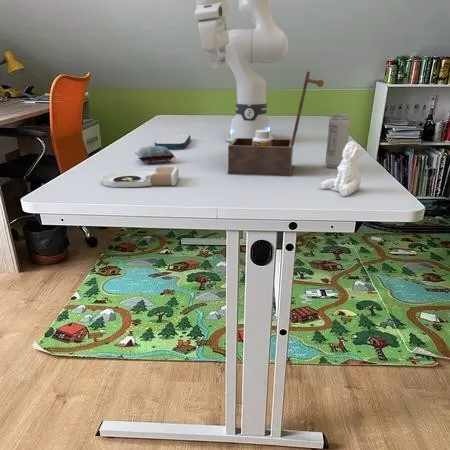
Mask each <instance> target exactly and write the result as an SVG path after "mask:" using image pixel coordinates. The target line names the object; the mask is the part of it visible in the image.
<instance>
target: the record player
mask: <svg viewBox="0 0 450 450" xmlns="http://www.w3.org/2000/svg"><path fill="white" fill-rule="evenodd" d="M179 178H180V172H179V167H178V166H164V167H163V166H159V167H156V168H155V171H147V170H146V171H139V170H137V171H118V172H117V171H116V172H112V173H108V174H105V175H103V176H102V179H101V180H102V184H103V185H104V186H107V187H112V188H113V187H114V188H140V187H142V188H143V187H149V186H150V187H151V186H152V187H153V186H154V187H159V186H160V187H162V186H163V187H164V186H167V187H168V186H172V187H173V186H176V184H177V183H178V181H179Z"/></svg>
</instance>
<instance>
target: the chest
mask: <svg viewBox="0 0 450 450" xmlns="http://www.w3.org/2000/svg"><path fill="white" fill-rule="evenodd" d="M291 141H292V138H273V139H272V143H271V146H252V142H253V138H235V139H234V140H233V141H232V142H229V145H228V146H227V157H228V158H227V173H228V175H246V176H247V175H248V176H249V175H253V176H274V177H275V176H276V177H277V176H278V177H291V174H292V173H291V172H292V168H293V158H294V157H293V156H294V146H291Z"/></svg>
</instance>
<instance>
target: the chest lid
mask: <svg viewBox="0 0 450 450" xmlns="http://www.w3.org/2000/svg"><path fill="white" fill-rule="evenodd" d="M310 74H311V69H307V71H306V74H305V78H304V83H303V88H302V92H301V97H300V101H299V106H298V110H297V113H296V114H297V115H296V119H295V122H294V123H295V124H294V128H293V133H292V136H291V139H292V141H291V146H293V147H294V145H295V141H296V136H297V132H298V129H299V123H300V119H301V115H302V109H303V105H304V100H305V96H306V91H307V88H308V83H309V84H314V85H317V87H318V88H321V87H323V86H324V84H325V82H324V80H323V78H318V79H313V78H310Z"/></svg>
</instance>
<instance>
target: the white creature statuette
mask: <svg viewBox="0 0 450 450" xmlns="http://www.w3.org/2000/svg"><path fill="white" fill-rule="evenodd" d="M365 151H366V148H362V146H361V145H360V144H359V143H357V142H356V141H353V140H350V141H349V140H348V143H347V144H346V146H345V149H343V154H342V156H343V160H342V161H341V163H340V165H339V166H338V167H337V168H336V169H337V176H336V177H334V178H326V179H325V180H322V181H321V182H320V188H321V190H331V191H335V192H338V193H340V195H341V197H349V196H351V195H352V194H353V193H355V192H356V191H357V190H358V189H360V185H361V183H362V179H361V176H360V173H359V168H360V167H359V166H358V162H357V161H356V160H358V159H360V157H361V156H362V155H363V154H364V153H365Z"/></svg>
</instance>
